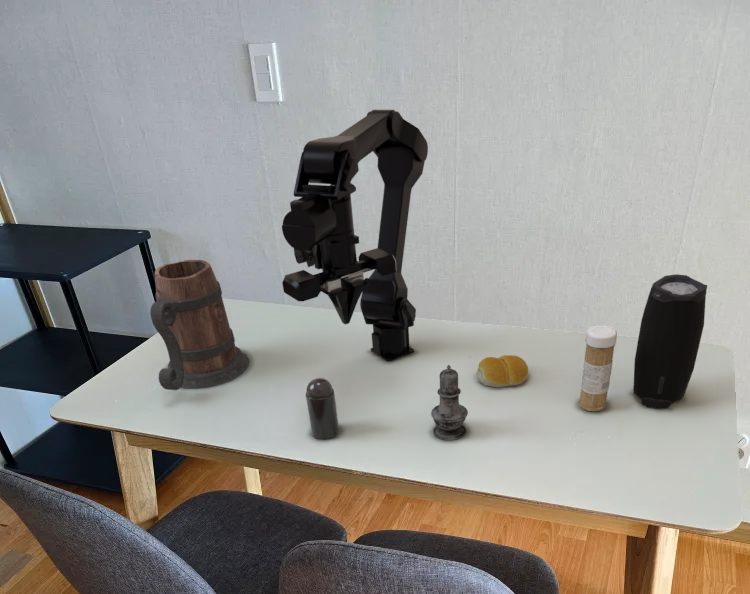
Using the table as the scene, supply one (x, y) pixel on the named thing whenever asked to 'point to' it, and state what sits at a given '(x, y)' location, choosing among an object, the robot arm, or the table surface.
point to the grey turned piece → (449, 408)
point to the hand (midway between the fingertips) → (345, 323)
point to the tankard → (194, 327)
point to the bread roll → (502, 371)
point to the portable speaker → (669, 340)
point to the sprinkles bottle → (597, 367)
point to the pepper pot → (322, 409)
